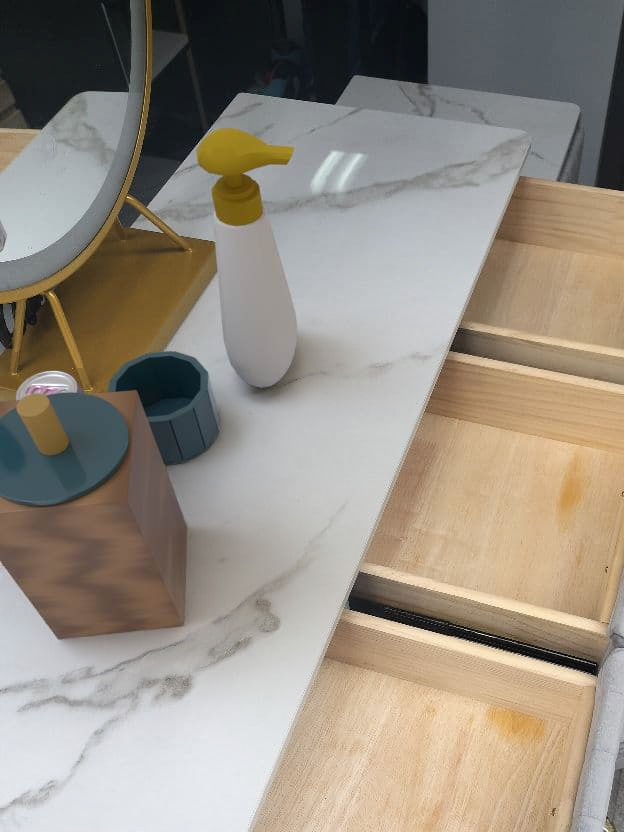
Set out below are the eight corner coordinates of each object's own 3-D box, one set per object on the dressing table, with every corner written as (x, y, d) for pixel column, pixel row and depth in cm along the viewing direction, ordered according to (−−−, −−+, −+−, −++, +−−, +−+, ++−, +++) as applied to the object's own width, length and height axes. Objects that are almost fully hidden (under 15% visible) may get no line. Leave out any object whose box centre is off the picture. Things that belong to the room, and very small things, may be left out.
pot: (122, 469, 90) (103, 425, 84) (129, 400, 96) (112, 355, 90) (219, 460, 91) (207, 417, 85) (219, 392, 97) (208, 347, 91)
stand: (57, 639, 78) (-35, 516, 62) (70, 537, 85) (-9, 401, 69) (183, 626, 79) (126, 501, 63) (187, 526, 86) (136, 389, 69)
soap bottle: (311, 406, 96) (282, 174, 72) (224, 402, 96) (165, 170, 72) (323, 332, 103) (300, 99, 79) (241, 328, 103) (194, 95, 79)
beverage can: (81, 465, 90) (30, 365, 78) (132, 473, 90) (89, 373, 78) (58, 507, 87) (2, 409, 75) (111, 516, 87) (63, 419, 74)
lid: (-31, 513, 62) (-63, 471, 58) (-7, 403, 68) (-33, 357, 64) (124, 499, 63) (104, 456, 59) (134, 391, 69) (116, 345, 65)
